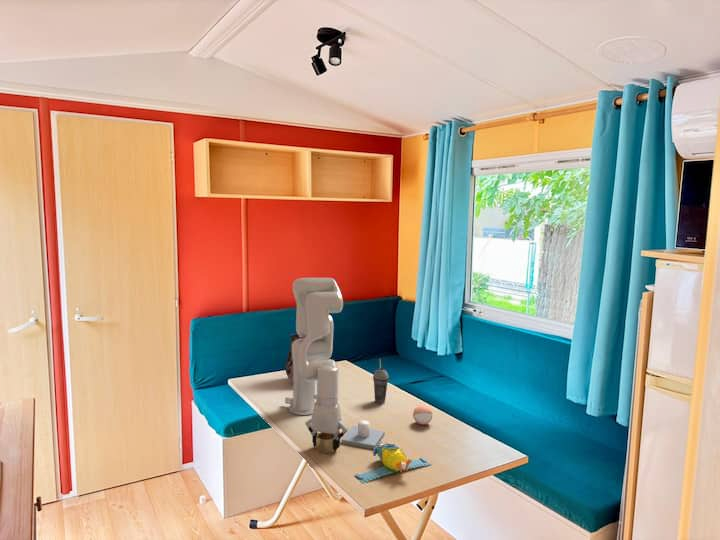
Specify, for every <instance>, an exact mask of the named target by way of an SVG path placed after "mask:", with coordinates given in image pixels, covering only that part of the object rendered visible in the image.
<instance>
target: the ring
mask: <svg viewBox="0 0 720 540" xmlns="http://www.w3.org/2000/svg"><path fill="white" fill-rule="evenodd" d="M317 433H318V434H317V435H316V446H315V448H316V449H315V451H316V452H317V453H318V452H319V453H318V454H321V453H323V455H331V454H333V453H335V452H336V451H334V440H335V437H334V435H333V434H328V433H323V432H317Z"/></svg>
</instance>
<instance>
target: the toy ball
mask: <svg viewBox="0 0 720 540" xmlns="http://www.w3.org/2000/svg"><path fill="white" fill-rule="evenodd" d="M412 417H413V420H414V421H415V422H416V423H417V424H418V425H422V426H423V425H424V426H425V425H428V424H429V423H430V422H431V421H432V419H433V411H432V409H431V408H430V407H429V406H427V404H426V405H425V404H420V405H417V406H416V407H415V408H414V409H413V412H412Z"/></svg>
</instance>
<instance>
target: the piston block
mask: <svg viewBox="0 0 720 540" xmlns="http://www.w3.org/2000/svg"><path fill="white" fill-rule="evenodd" d="M370 423H371V422H370V421H368V420H364V419H363V420H362V419H361V420H359V421H358V423H357V426H355V425H353V426H352V427H350V429H348V431H347V432H346V433H345V434H344V435H343V436H342V437H341V438H340V444H343V445H347V446H348V445H349V446H353V447H358V446H359V448H365V449H370V450H374V449H375V448H376V447H377V446H378V445H379V444H380V443H381V442H382V440H381V439H383V438H384V437H383V436H385V431H384V430H379V429H373V428H370Z"/></svg>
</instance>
